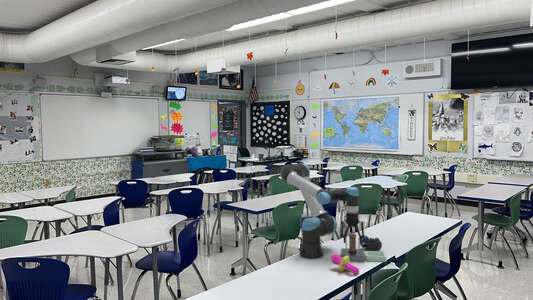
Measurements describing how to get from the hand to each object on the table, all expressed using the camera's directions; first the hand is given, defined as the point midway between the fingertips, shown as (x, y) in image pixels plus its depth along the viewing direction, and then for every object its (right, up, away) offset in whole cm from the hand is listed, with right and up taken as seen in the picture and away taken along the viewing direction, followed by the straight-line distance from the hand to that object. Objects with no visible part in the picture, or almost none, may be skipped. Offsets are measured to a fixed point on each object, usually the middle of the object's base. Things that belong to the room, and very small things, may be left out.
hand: (352, 248), depth 261 cm
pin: (0, -7, 0) cm, 7 cm away
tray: (+14, -6, -2) cm, 15 cm away
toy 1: (-9, -9, -21) cm, 25 cm away
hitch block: (0, -7, 0) cm, 7 cm away
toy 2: (+15, -6, +16) cm, 22 cm away
